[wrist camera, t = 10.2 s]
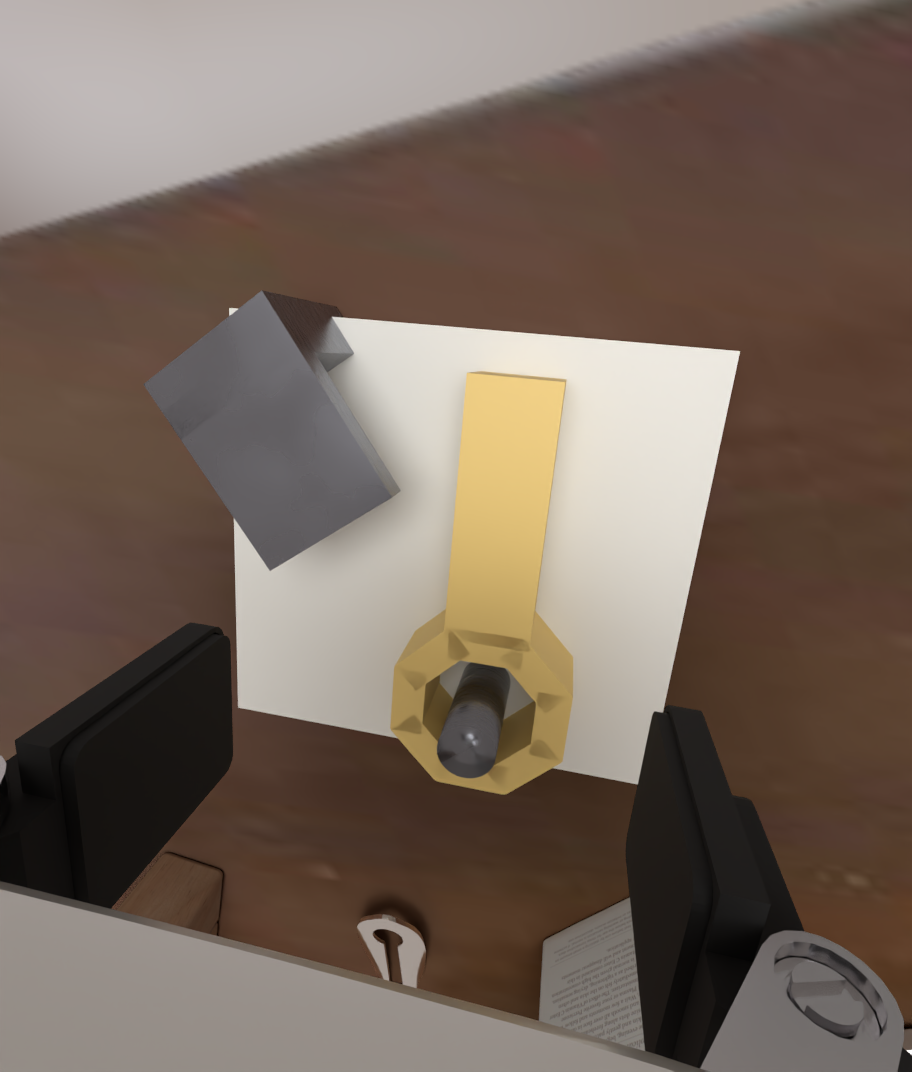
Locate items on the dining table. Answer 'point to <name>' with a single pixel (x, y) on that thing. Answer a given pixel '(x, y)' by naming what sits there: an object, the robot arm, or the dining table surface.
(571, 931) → the small box
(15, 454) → the dining table surface
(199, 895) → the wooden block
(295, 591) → the board
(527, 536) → the link
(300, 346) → the block
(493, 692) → the pin
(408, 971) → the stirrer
